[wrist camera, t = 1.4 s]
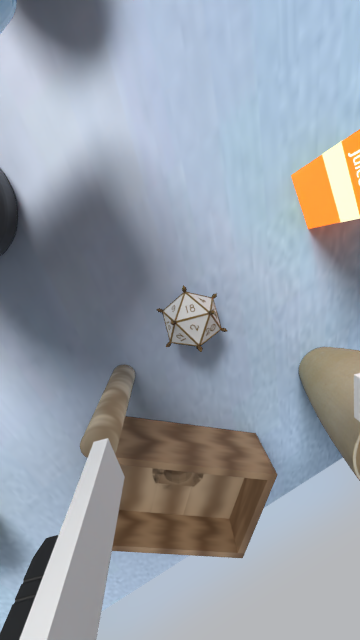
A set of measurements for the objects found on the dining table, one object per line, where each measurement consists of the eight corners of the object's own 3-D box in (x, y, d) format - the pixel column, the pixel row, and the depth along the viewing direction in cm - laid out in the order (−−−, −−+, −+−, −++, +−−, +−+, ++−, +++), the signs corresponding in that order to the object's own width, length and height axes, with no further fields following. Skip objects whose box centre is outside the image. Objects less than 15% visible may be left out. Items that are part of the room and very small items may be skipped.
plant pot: (281, 326, 35) (374, 379, 19) (369, 325, 36) (524, 374, 20) (271, 406, 39) (340, 503, 23) (350, 403, 40) (467, 494, 24)
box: (97, 495, 41) (82, 549, 34) (110, 414, 37) (95, 455, 29) (229, 506, 44) (242, 558, 37) (255, 433, 40) (277, 474, 32)
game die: (190, 296, 36) (232, 273, 28) (204, 346, 35) (251, 338, 27) (140, 304, 31) (172, 279, 23) (155, 361, 31) (193, 357, 22)
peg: (111, 382, 35) (78, 458, 22) (114, 362, 34) (81, 429, 21) (133, 386, 36) (114, 462, 22) (137, 366, 35) (119, 434, 21)
